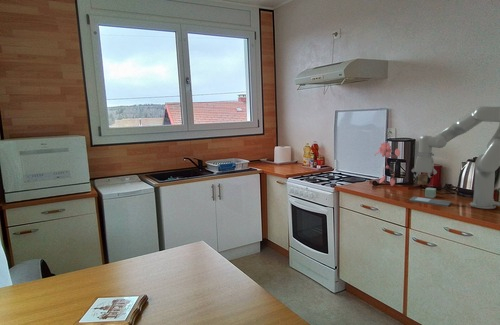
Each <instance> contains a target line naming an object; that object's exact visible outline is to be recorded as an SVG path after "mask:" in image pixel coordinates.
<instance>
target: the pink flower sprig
mask: <svg viewBox="0 0 500 325" xmlns="http://www.w3.org/2000/svg"><path fill="white" fill-rule="evenodd" d="M378 149H379V150H377V151H376V153H375V154H374V156H377V155H378V154H379V153H380V154H381V157H382V158H384V157H385V163H386V166H385V167H384V168H383V169H382V172H383V176H382V177H381V178H380V180H379V182H378V184H382V183H383V182H385V183H387V181H386V176H385V172H384V171H385V169H389V170H391V171H393V174H392V175H393V176H392V178H390V180H389V184H390V186H391V187H393V186H396V180H395V178H394V177H395V176H394V175H395V170H394V169H392V168H390V165H388V161H387V159H389V158H390V157H392V158H397V157H399V156H400V155H401V150H400V149H399V148H396V149H395V150H394V154H395V156H394V155H392V154H391V153H392V152H393V149H392V146H391V145H390V142H388V141H387V142H384V141H383V142H381V143H380V146H379V148H378ZM376 187H378V188H380V186H377V185H376ZM384 188H386V189H387V187H383V189H384Z"/></svg>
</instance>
